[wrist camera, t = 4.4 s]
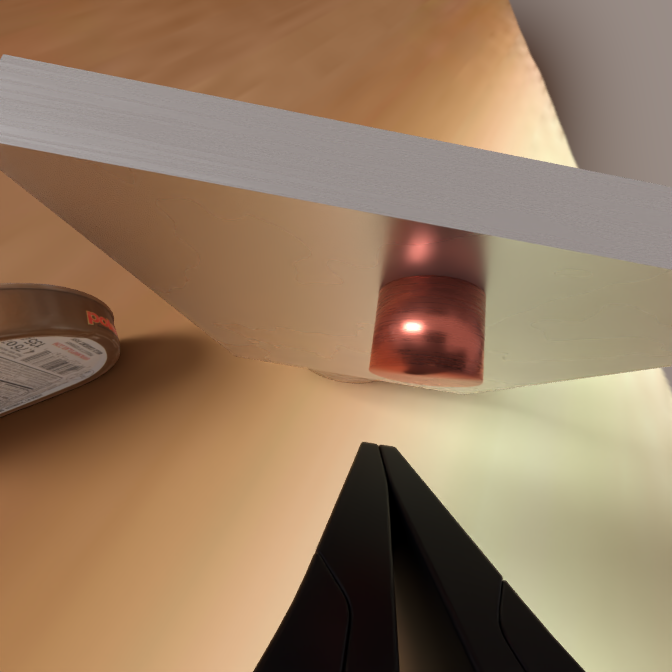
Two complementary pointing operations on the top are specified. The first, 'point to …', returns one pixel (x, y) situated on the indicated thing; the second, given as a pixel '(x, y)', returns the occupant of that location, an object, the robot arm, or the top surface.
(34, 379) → the tin
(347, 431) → the top surface
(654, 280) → the lid
